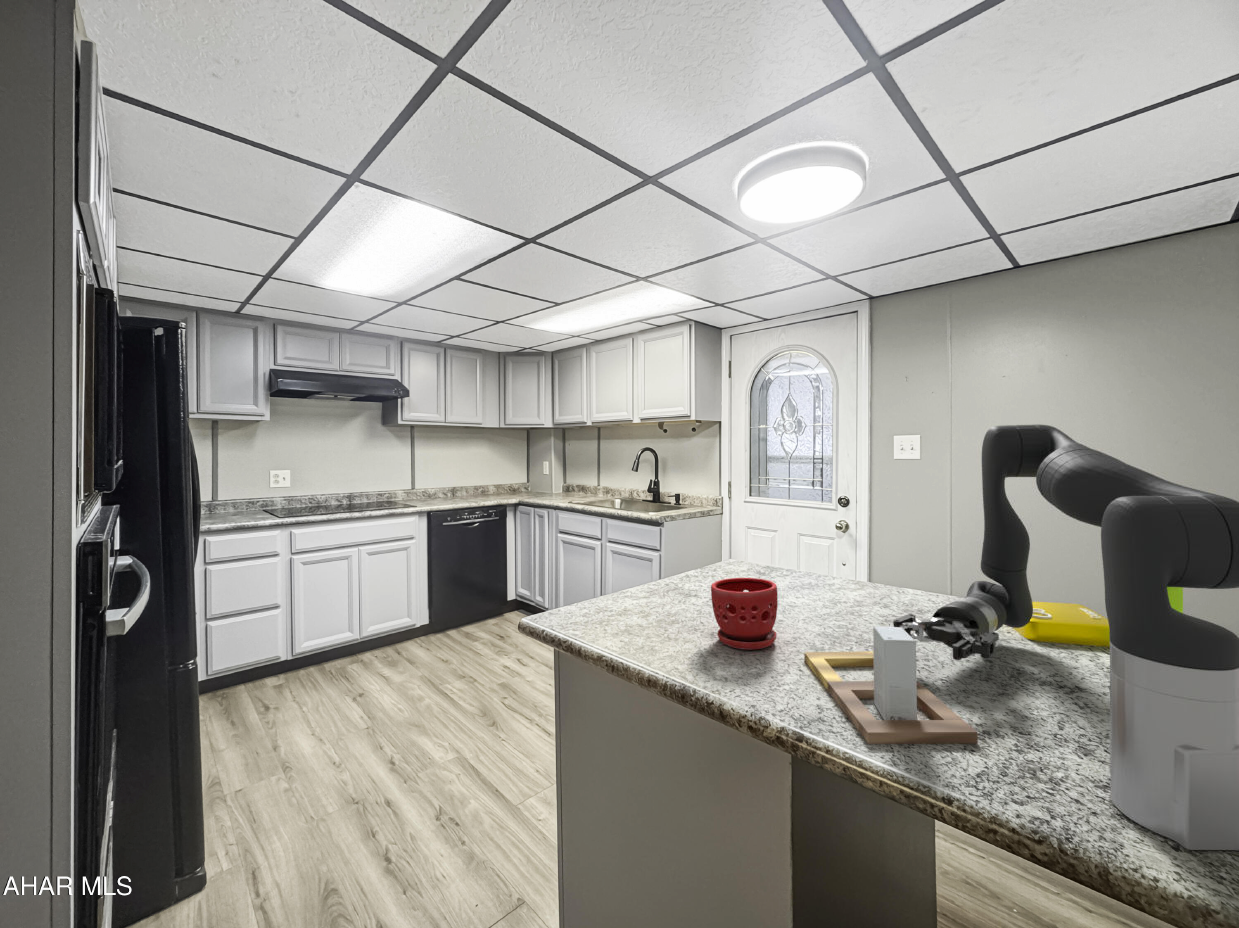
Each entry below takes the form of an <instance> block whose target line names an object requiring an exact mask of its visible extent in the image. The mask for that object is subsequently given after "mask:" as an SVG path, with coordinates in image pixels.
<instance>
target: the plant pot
mask: <svg viewBox="0 0 1239 928" xmlns="http://www.w3.org/2000/svg"><path fill="white" fill-rule="evenodd" d="M710 591H711V592H710V593H711V594H710V596H711V597H710V598H711V605H712V611H713V614H714V618H715V620H716V623H717V625H718V627H719V629H718V631H717V638H718V639H719V640H720V641H721V642H722V643H723V644H725V645H726V646H728V647H729V648H733V649H734V648H735V649H740V650H750V651H751V650H752V651H753V650H761V649H765V648H767V647H770V646H771V645H772V644H774V643H775V641H776V640H777V635H778V634H777V632H776V631H775V630H774V626H775V623H776V621H777V614H778V613H777V612H778V586H777V584H776V583H775V582H774V581H772V580H769V579H762V578H755V577H754V578H753V577H731V578H724V579H721V580H717V581H715V582H713V583H711V586H710Z"/></svg>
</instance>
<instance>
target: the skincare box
mask: <svg viewBox="0 0 1239 928" xmlns="http://www.w3.org/2000/svg"><path fill="white" fill-rule="evenodd" d="M872 631H873V632H872V633H873V634H872V635H873V639H872V640H873V645H872V646H873V651H874V666H873V681H874V699H873V701H874V702H873V703H874V705H875V707H876V709H877V710H878V712H879V714H880V715H881V717H882V719H883V720H918V706H917V681H918V680H917V641H916V639H913V638H912V637H911V636H910V635H909V634H908V633H907V632H906V631H905V630H904V629H903V628H902V627H894V626H880V625H879V626H877V625H874V626H873V628H872Z"/></svg>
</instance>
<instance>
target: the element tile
mask: <svg viewBox="0 0 1239 928" xmlns="http://www.w3.org/2000/svg"><path fill="white" fill-rule="evenodd" d="M1032 604H1033V615H1032V618H1031V620H1030V621H1029V623H1028V624H1026V625H1025V626H1023V627H1020V628H1013V627H1011V628H1012V629H1014V630H1015V631H1016V632H1017V633H1018V634H1019V635H1020V636H1022V638H1025V639H1027V640H1029V641H1030V640H1031V641H1034V642H1040V643H1044V642H1045V643H1056V644H1068V645H1079V646H1094V647H1107V648H1108V647H1109V648H1110V630H1109V623H1108V618H1107V617H1105V616H1103V615H1101V614H1099V613H1098V612H1097V611H1094V610H1093V609H1091V608H1089V607H1087V606H1085V605H1082V604H1080V603H1065V602H1048V601H1047V602H1046V601H1033V600H1032Z"/></svg>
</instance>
